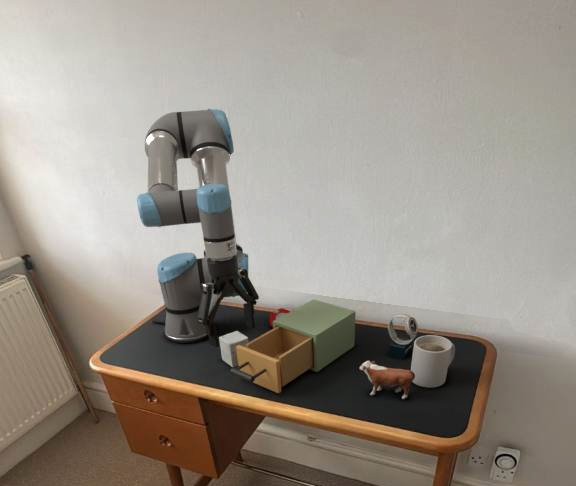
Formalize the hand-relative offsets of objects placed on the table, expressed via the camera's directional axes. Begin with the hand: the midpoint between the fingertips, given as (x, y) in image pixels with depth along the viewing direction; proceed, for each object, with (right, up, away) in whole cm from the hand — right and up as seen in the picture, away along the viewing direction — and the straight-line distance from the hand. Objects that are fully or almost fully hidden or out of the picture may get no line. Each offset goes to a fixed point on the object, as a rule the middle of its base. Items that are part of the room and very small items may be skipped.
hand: (233, 336), depth 126 cm
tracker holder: (+15, +8, +22) cm, 28 cm away
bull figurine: (+39, -17, -12) cm, 44 cm away
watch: (+46, -4, +4) cm, 47 cm away
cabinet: (+23, -3, +7) cm, 24 cm away
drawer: (+11, -11, -4) cm, 16 cm away
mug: (+52, -12, -7) cm, 54 cm away
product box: (0, -6, +5) cm, 8 cm away
